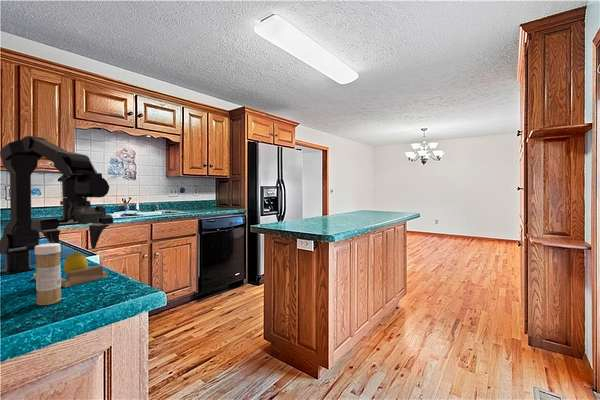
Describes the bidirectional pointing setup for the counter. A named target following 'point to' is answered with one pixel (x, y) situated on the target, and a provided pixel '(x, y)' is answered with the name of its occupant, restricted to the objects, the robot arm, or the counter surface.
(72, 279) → the channel
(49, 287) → the sprinkles bottle
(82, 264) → the lemon
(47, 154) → the robot arm
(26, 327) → the counter surface
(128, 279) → the counter surface
